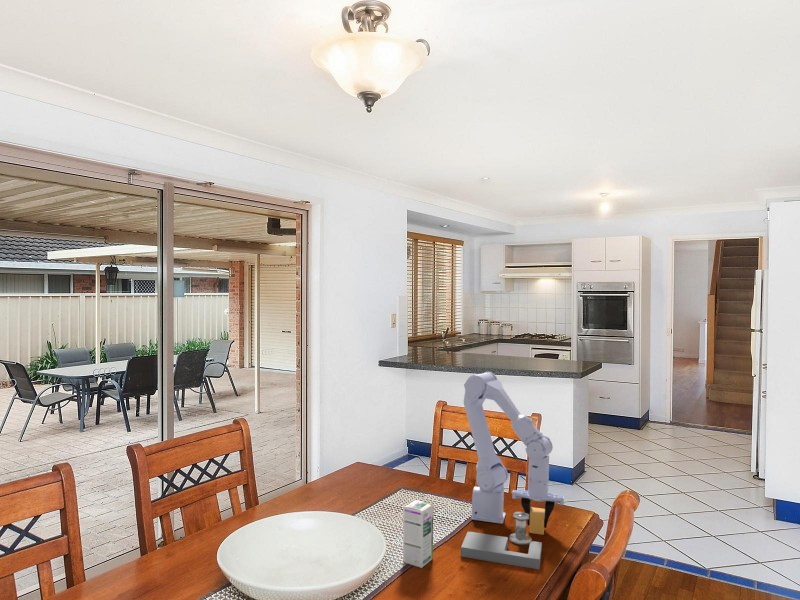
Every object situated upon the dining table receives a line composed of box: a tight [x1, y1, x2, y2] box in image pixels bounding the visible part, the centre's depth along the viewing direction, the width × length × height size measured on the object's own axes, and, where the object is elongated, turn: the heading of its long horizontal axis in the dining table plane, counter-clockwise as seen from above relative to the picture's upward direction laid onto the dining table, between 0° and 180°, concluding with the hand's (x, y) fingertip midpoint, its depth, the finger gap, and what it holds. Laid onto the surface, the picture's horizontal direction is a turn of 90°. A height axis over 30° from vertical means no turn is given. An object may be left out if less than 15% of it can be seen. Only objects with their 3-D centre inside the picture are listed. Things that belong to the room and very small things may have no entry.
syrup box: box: [402, 499, 434, 569], centre depth 145 cm, size 6×6×14 cm
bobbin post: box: [509, 511, 533, 546], centre depth 158 cm, size 6×6×7 cm
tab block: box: [529, 506, 545, 536], centre depth 164 cm, size 4×4×6 cm
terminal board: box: [460, 531, 543, 570], centre depth 150 cm, size 20×10×2 cm, turn 73°
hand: (537, 525), depth 164 cm, fingers closed on tab block, 4 cm apart
